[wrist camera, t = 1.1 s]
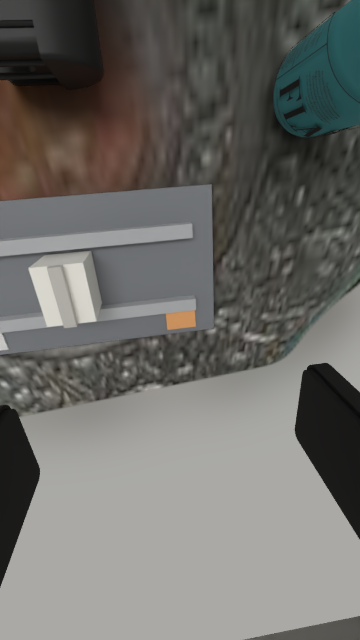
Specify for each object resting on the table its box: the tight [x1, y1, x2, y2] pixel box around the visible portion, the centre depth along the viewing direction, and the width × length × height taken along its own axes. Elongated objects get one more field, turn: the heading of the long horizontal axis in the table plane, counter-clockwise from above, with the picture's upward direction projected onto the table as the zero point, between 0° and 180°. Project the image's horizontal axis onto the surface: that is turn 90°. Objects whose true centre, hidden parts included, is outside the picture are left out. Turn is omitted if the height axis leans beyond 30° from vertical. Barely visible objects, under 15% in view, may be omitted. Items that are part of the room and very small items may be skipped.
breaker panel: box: [0, 184, 214, 355], centre depth 26 cm, size 14×26×2 cm, turn 94°
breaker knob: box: [28, 251, 102, 328], centre depth 24 cm, size 5×4×5 cm
